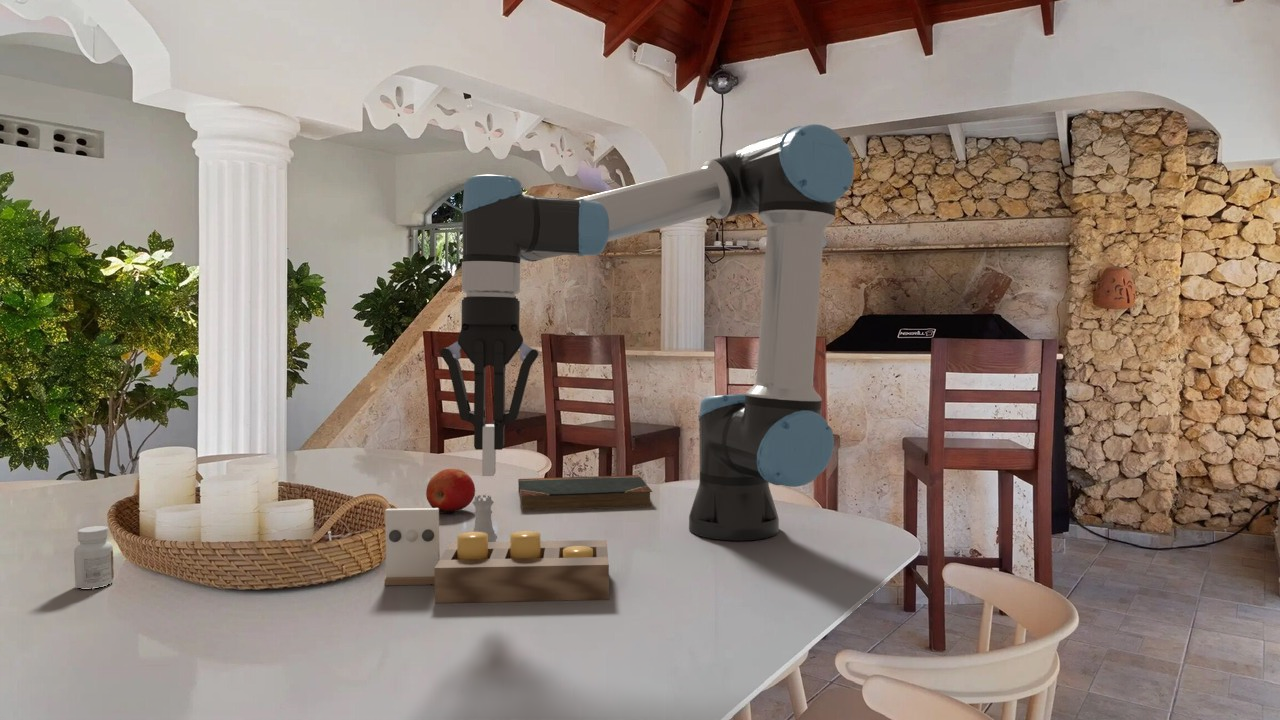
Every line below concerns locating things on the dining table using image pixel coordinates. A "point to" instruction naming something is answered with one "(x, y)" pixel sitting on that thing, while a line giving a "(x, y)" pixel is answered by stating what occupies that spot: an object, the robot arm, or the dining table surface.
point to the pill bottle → (93, 558)
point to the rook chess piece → (484, 516)
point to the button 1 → (472, 545)
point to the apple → (450, 490)
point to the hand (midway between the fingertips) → (488, 474)
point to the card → (411, 545)
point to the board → (523, 575)
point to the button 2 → (577, 552)
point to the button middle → (525, 545)
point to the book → (583, 492)
